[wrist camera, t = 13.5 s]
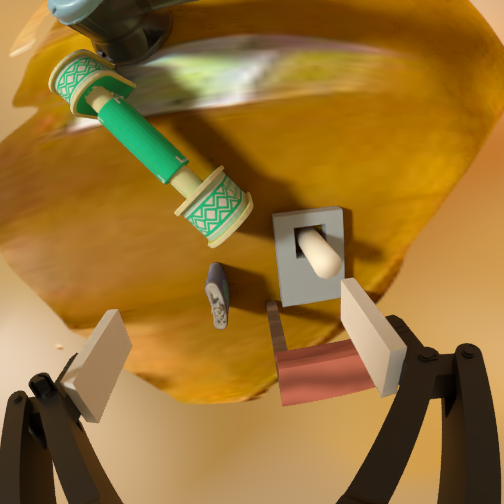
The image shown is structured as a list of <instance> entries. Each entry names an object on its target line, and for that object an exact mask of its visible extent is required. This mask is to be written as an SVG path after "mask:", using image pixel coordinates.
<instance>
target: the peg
mask: <svg viewBox="0 0 504 504" xmlns="http://www.w3.org/2000/svg"><path fill="white" fill-rule="evenodd" d="M296 241H297V243H298V244H299V246H300V248H301V249H302V251H303V253H304V254H305V256H306V258H307V259H308V261H309V262H310V264H311V266H312V267H313V269H314V271H315V273H316V274H317V275H318V276H319V277H321V278H324V279H329V278H332V277H334V276H335V275H337V274H338V272H339V271H340V269H341V265H342V262H341V259H340V257H339V256H338V254H337V253H336V252H335V251H334V250H333V249H332V248H331V247H330V245H329V244H328V243H327V242H326V241H325V240H324V239H323V238H322V237H321V236H320V234H319V233H318V232H317V231H316V230H315V229H314V228H313V227H311V226H305V227H301V228H300V229H299V230H298V231H297V233H296Z"/></svg>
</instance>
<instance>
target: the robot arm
mask: <svg viewBox="0 0 504 504" xmlns="http://www.w3.org/2000/svg"><path fill="white" fill-rule="evenodd" d="M193 1H198V0H47V4H48V9H49V11H50V13H51V14H52V15H54V16H55V17H56V18H57V19H59V21H60V22H61V23H62V24H64V25H67V26H69V27H71V28H72V29H74V30H76V31H78V32H79V33H81V34H83V35H84V36H86V37H88V38H90V40H91V42H92V45H93V48H94V50H95V52H96V53H97V54H98V55H99V56H100V57H101V58H103V59H105V60H106V61H108V62H110V63H112V64H116V65H129V64H134V63H137V62H140V61H142V60H144V59H146V58H148V57H149V56H151V55H152V54H154V53H155V52H156V51H157V50H158V49H159V48H160V47H161V46H162V45H163V44H164V43H165V41H166V40H167V38H168V36H169V34H170V32H171V29H172V22H173V20H172V14H171V11H170V9H169V8H168V7H170V6H174V5H179V4H183V3H188V2H193ZM341 321H342V323H343V325H344V327H345V329H346V331H347V333H348V334H349V336H350V338H351V340H352V342H353V344H354V346H355V348H356V349H357V351H358V353H359V355H360V357H361V359H362V361H363V363H364V365H365V367H366V369H367V371H368V373H369V374H370V376H371V378H372V380H373V382H374V384H375V386H376V388H377V390H378V392H379V394H380V396H381V397H386V396H389V395H392V394H396V393H397V394H396V397H395V399H394V401H393V404H392V406H391V408H390V411H389V413H388V415H387V417H386V419H385V421H384V423H383V425H382V428H381V430H380V432H379V434H378V436H377V438H376V440H375V442H374V444H373V446H372V448H371V449H370V452H369V453H368V455H367V457H366V459H365V461H364V462H363V464H362V466H361V467H360V469H359V471H358V473H357V474H356V476H355V478H354V480H353V481H352V483H351V484H350V486H349V487H348V489H347V491H346V492H345V493H344V494H343V495H342V496H341V497H340V499H339V500H338V501H337V503H336V504H388V503H389V500H390V499H391V497H392V495H393V493H394V491H395V489H396V486H397V485H398V483H399V480H400V478H401V476H402V474H403V471H404V469H405V467H406V465H407V462H408V460H409V457H410V455H411V453H412V450H413V447H414V445H415V442H416V440H417V437H418V434H419V431H420V428H421V426H422V423H423V420H424V417H425V413H426V410H427V407H428V404H429V400H430V399H437V398H441V402H442V403H441V404H442V455H441V472H440V484H439V493H438V501H437V504H501V467H500V452H499V442H498V433H497V425H496V418H495V412H494V406H493V400H492V395H491V390H490V386H489V381H488V376H487V373H486V368H485V364H484V360H483V357H482V353H481V351H480V349H479V348H478V347H477V346H475V345H473V344H469V343H465V344H461V345H459V346H458V347H457V348H456V351H455V353H454V354H439V353H438V351H436V350H435V349H434V348H430V347H424V346H423V345H422V343H421V342H420V341H419V340H418V339H417V337H416V336H415V335H414V333H413V332H412V331H411V330H410V329H409V327H408V326H407V325H406V324H405V323H404V321H403V320H402V319H401V318H399V317H397V316H395V315H390V316H386V317H384V316H383V314H382V313H381V312H380V310H379V309H378V308H377V306H376V305H375V304H374V303H373V301H372V300H371V299H370V298H369V296H368V295H367V294H366V292H365V291H364V290H363V289H362V287H361V286H360V285H359V284H358V282H357V281H356V280H355V279H354V278H348V279H342V280H341ZM131 348H132V343H131V341H130V339H129V336H128V334H127V331H126V328H125V326H124V323H123V321H122V318H121V315H120V313H119V310H118V309H113V310H107V312H106V313H105V315H104V316H103V317H102V319H101V320H100V322H99V323H98V325H97V326H96V328H95V329H94V330H93V332H92V333H91V335H90V336H89V338H88V339H87V341H86V342H85V344H84V346H83V347H82V348H81V350H80V351H79V353H76V354H75V355H74V356H72V357H71V358H70V359H69V361H68V363H67V364H66V366H65V367H64V369H63V371H62V372H61V374H60V375H59V377H58V378H57V380H56V381H55V383H54V382H53V381H52V379H51V378H50V376H49V374H47V373H39V374H37V375H35V376H34V377H32V378H31V380H30V381H29V387H30V389H31V390H32V392H33V393H34V395H35V396H36V397H28V396H27V395H26V393H25V392H24V391H17V392H14V393H13V394H12V395H11V396H10V397H9V399H8V402H7V407H6V413H5V418H4V424H3V431H2V437H1V446H0V504H57V503H56V496H55V487H54V477H53V464H52V463H54V466H55V469H56V472H57V474H58V478H59V480H60V483H61V485H62V488H63V491H64V493H65V496H66V498H67V500H68V503H69V504H123V502H122V501H121V499H120V497H119V496H118V494H117V492H116V491H115V489H114V487H113V486H112V484H111V482H110V481H109V479H108V477H107V475H106V473H105V471H104V469H103V468H102V466H101V464H100V462H99V460H98V458H97V456H96V454H95V452H94V450H93V448H92V445H91V444H90V441H89V439H88V437H87V435H86V432H85V430H84V428H83V426H82V423H81V422H80V421H79V417H80V415H82V416H83V417H84V419H85V420H86V421H87V422H92V423H99V421H100V419H101V416H102V414H103V412H104V409H105V406H106V404H107V402H108V399H109V397H110V395H111V393H112V390H113V388H114V386H115V383H116V381H117V379H118V376H119V374H120V372H121V370H122V367H123V365H124V363H125V361H126V359H127V356H128V354H129V352H130V350H131ZM398 385H399V386H400V387H399V390H398V392H397V389H398ZM52 460H53V461H52Z"/></svg>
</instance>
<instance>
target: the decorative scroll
mask: <svg viewBox="0 0 504 504" xmlns="http://www.w3.org/2000/svg"><path fill="white" fill-rule="evenodd" d="M114 68H115V66H114V65H113V64H111V63H110V62H108V61H106V60H105V59H103V58H101V57H99V56H98V55H96V54H94V53H92V52H91V51H89V50H86V49H81V50H77V51H74V52H72V53H70V54H69V55H67V56H66V57H65V58H63V59H62V60H61V61H60V62H59V63H58V65H57V66H56V67H55V69H54V70H53V72H52V74H51V76H50V79H49V89H50V90H51V92H52V93H54V94H56V95H60V96H62V97H63V98H64V99H65V100H66V101H67V102H68V103H69V104H70V105H71V106H70V107H71V112H72V113H73V114H74V115H75V116H77V117H83V118H91V119H98V120H99V121H100V122H101V123H102V124H103V125H104V126H105V127H106V128H107V129H108V130H109V131H110V132H111V133H112V134H113V135H114V136H115V137H116V138H117V139H118V140H119V141H120V142H121V143H122V144H123V145H124V146H125V147H126V148H127V149H128V150H129V151H130V152H131V153H132V154H133V155H135V156H136V157H137V158H138V159H139V160H140V161H141V162H142V163H143V164H144V165H145V166H146V167H147V168H148V169H149V170H150V171H151V172H152V173H153V174H154V175H155V176H156V177H157V178H158V179H159V180H160V181H161V182H162V183H163V184H168V183H170V184H172V185H173V186H174V187H175V188H176V189H177V190H178V191H179V192H180V193H181V194H182V195H183V196H184V197H185V198H186V199H187V200H186V201H185V202H184V203H183V204H182V205H181V206H180V207H179V208H178V209H177V210H176V211H175V213H174V214H175V215H176V216H179V215H180V214H182V215H183V216H184V217H185V218H186V219H187V220H188V221H189V222H190V223H191V224H193V225H194V226H195V227H196V228H197V229H198V230H199V231H200V232H201V233H202V234H203V235H204V236H205V237H206V238H207V239H208V240H209V241H208V246H209V247H210V248H215V247H217V246H219V245H220V244H221V243H223V242H224V241H225V240H226V239H227V238H228V237H230V236H231V235H232V234H233V233H234V232H235V231H236V230H237V229H238V228H239V226H240V225H241V224H242V223H243V222H244V221H245V219H246V218H247V217H248V216H249V214H250V213H251V211H252V209H253V206H254V205H253V201H252V197H251V194H250V193H249V192H246V193H244V192H243V191H242V190H241V189H240V188H239V187H238V186H237V185H236V184H235V183H234V182H233V181H232V180H231V179H230V178H229V177H228V176H227V175H226V174H225V173H224V172H223V171H222V170H223V169H224V167H223V166H222V165H221V166H220V167H218V168H217V169H216V170H215V171H214V172H213V173H212V174H211V175H210V176H209V177H208V178H207V179H206V180H205V181H204V182H203V181H202V180H201V179H200V178H199V177H198V176H197V175H196V174H195V173H194V172H193V171H192V170H191V169H190V168H189V167H188V166H187V164H188V162H189V160H188V159H187V158H186V157H185V156H184V155H183V154H182V153H181V152H180V151H179V150H177V149H176V148H175V147H174V146H173V145H172V144H171V143H170V142H169V141H168V140H167V139H166V138H165V137H164V136H163V135H162V134H161V133H160V132H159V131H158V130H156V129H155V128H154V127H153V126H152V125H151V124H150V123H149V122H148V121H147V120H146V119H145V118H144V117H143V116H142V115H140V114H139V113H138V112H137V111H136V110H135V109H134V108H133V107H132V106H131V105H130V104H129V103H128V102H127V101H125V100H124V99H125V98H126V97H127V96H128V95H129V94H130V93H131V91H132V90H133V89H134V88H135V87H136V86H137V85H136V84H135V83H133V82H131V81H130V80H128V79H126V78H124V77H122V76H121V75H119V74H118V73H117V72H116V71H115V70H114Z"/></svg>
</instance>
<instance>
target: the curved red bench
mask: <svg viewBox="0 0 504 504" xmlns="http://www.w3.org/2000/svg"><path fill="white" fill-rule="evenodd" d="M266 308H267V314H268V320H269V326H270V332H271V338H272V345H273V351H274V357H275V363H276V369H277V375H278V381H279V387H280V393H281V400H282V406H289V405H296V404H301V403H307V402H313V401H318V400H323V399H327V398H332V397H337V396H342V395H346V394H350V393H354V392H358V391H363V390H366V389H370V388H374V387H376V386H375V384H374V382H373V380H372V378H371V376H370V374H369V373H368V371H367V369H366V367H365V365H364V363H363V361H362V359H361V357H360V355H359V353H358V351H357V349H356V348H355V346H354V344H353V342H352V340H351V339H348V340H344V341H339V342H334V343H328V344H323V345H318V346H312V347H306V348H300V349H294V350H288V351H287V346H286V342H285V337H284V333H283V329H282V324H281V320H280V316H279V311H278V307H277V303H276V300H273V301H266Z"/></svg>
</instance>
